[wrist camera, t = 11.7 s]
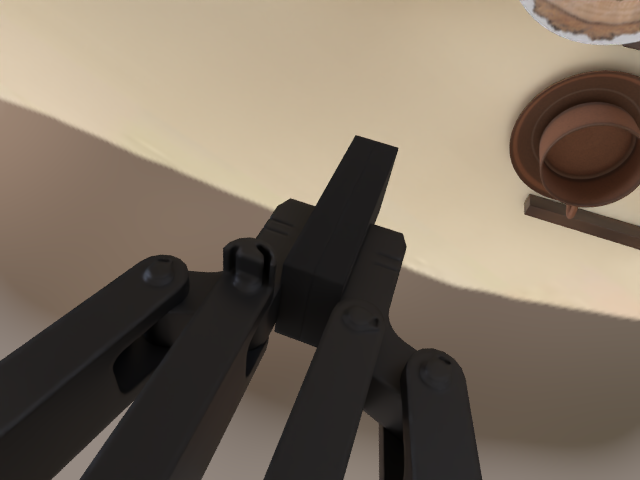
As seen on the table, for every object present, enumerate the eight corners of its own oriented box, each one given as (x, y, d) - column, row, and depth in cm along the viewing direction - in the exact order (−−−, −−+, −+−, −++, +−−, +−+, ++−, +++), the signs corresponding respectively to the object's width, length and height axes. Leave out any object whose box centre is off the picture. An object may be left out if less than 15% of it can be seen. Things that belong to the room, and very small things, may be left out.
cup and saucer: (669, 178, 40) (688, 219, 35) (521, 200, 45) (521, 238, 41) (669, 41, 34) (692, 70, 29) (498, 87, 39) (496, 117, 35)
